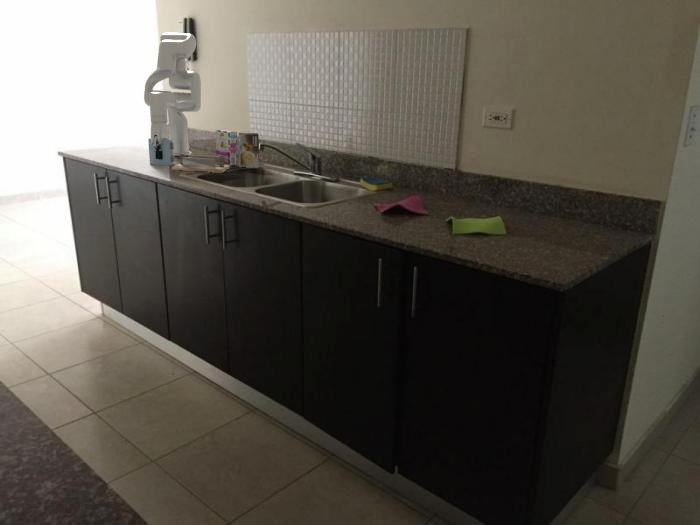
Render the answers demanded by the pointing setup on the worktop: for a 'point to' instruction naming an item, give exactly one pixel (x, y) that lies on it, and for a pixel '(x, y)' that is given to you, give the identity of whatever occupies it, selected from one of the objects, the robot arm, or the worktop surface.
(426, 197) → the worktop surface
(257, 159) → the coffee box
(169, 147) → the door panel
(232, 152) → the candy bar box
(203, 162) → the clear rectangular tray
